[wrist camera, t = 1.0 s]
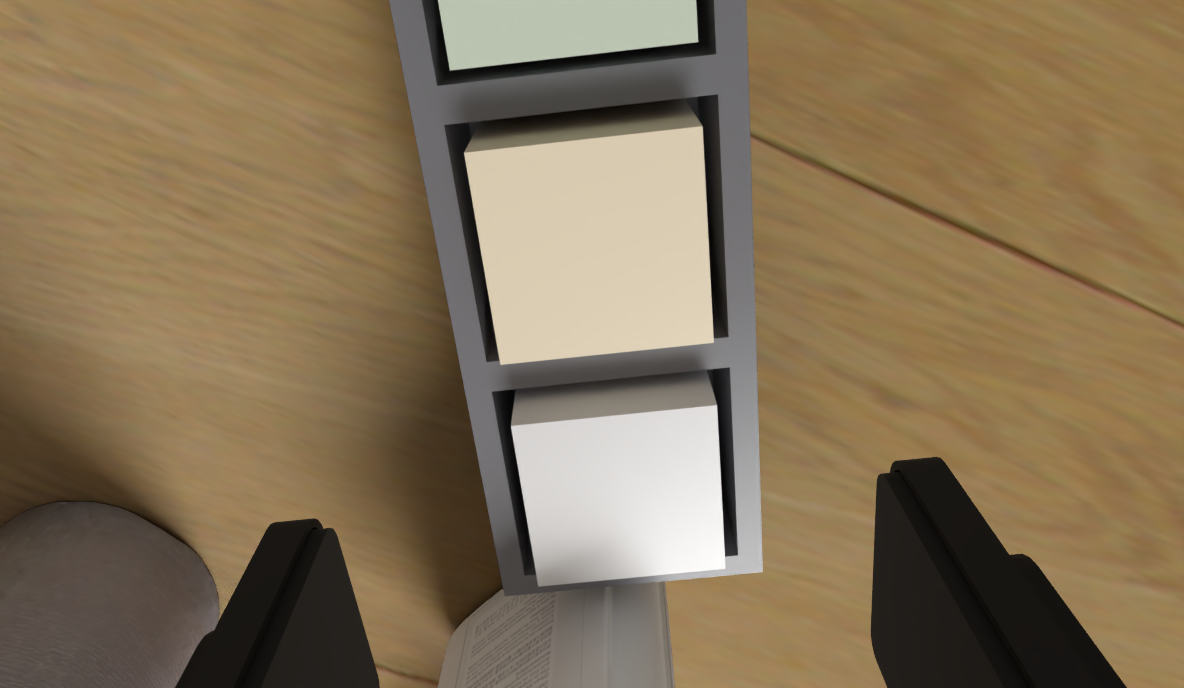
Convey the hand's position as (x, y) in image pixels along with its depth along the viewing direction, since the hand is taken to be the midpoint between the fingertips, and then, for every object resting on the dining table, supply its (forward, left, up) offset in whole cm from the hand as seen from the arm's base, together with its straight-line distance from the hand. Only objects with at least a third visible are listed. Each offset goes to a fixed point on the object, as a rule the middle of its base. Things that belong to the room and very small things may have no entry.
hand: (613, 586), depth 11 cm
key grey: (0, +8, -17) cm, 19 cm away
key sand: (0, 0, -17) cm, 17 cm away
